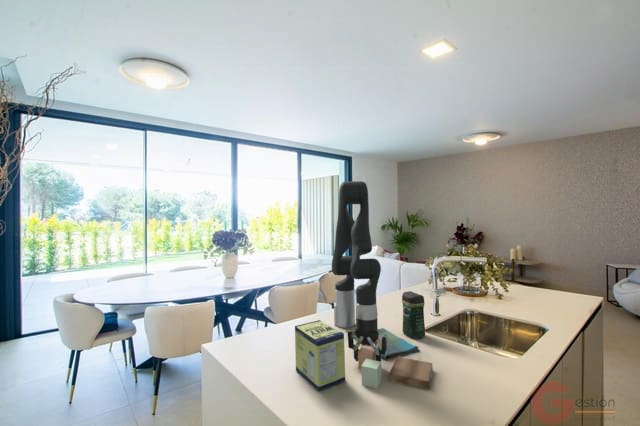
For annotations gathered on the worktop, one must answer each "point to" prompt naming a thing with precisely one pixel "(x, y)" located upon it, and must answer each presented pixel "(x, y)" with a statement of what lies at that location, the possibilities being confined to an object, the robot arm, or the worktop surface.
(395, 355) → the dish towel
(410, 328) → the coffee jar
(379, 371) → the sage block
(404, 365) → the plinth
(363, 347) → the terracotta block
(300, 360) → the protein box
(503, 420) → the worktop surface
